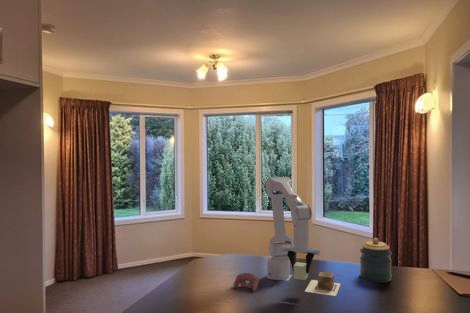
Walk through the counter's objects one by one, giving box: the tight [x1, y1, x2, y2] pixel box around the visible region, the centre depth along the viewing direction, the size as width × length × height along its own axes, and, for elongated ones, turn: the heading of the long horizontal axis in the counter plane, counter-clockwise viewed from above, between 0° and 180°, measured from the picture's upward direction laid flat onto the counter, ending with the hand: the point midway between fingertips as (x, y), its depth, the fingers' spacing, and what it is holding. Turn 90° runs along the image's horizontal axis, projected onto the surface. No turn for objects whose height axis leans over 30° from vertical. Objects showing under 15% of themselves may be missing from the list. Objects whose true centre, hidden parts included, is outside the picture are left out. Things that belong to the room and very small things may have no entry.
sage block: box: [293, 261, 309, 281], centre depth 144 cm, size 4×4×5 cm
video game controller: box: [233, 272, 260, 293], centre depth 152 cm, size 10×5×7 cm, turn 66°
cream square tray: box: [304, 279, 341, 297], centre depth 151 cm, size 12×14×1 cm
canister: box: [359, 237, 393, 284], centre depth 163 cm, size 13×13×18 cm
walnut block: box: [317, 271, 335, 290], centre depth 152 cm, size 6×6×5 cm
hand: (301, 271), depth 144 cm, fingers closed on sage block, 4 cm apart
